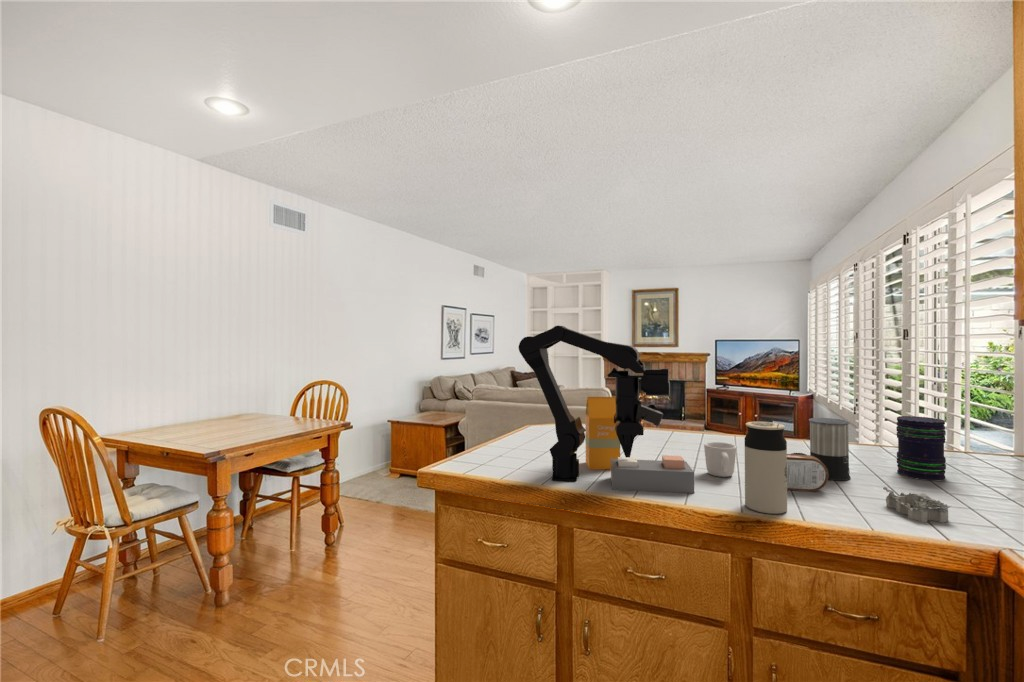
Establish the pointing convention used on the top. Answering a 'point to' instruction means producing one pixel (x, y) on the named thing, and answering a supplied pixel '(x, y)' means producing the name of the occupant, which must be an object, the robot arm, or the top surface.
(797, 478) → the tin
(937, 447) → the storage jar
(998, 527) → the top surface
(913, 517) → the egg carton
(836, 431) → the milk frother
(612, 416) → the orange juice
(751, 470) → the travel mug
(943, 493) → the top surface
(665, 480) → the key console
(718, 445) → the cup
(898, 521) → the top surface
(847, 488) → the top surface
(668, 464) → the terracotta key
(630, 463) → the cream key
